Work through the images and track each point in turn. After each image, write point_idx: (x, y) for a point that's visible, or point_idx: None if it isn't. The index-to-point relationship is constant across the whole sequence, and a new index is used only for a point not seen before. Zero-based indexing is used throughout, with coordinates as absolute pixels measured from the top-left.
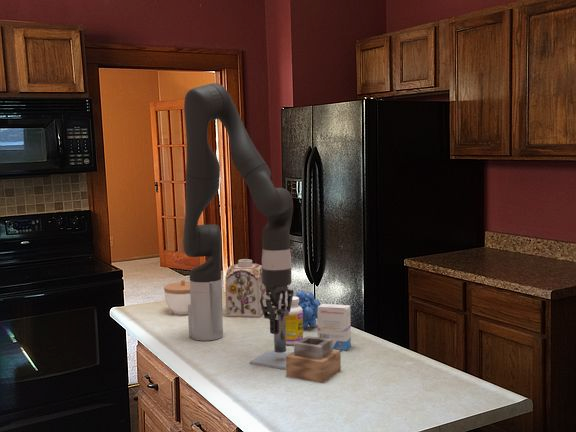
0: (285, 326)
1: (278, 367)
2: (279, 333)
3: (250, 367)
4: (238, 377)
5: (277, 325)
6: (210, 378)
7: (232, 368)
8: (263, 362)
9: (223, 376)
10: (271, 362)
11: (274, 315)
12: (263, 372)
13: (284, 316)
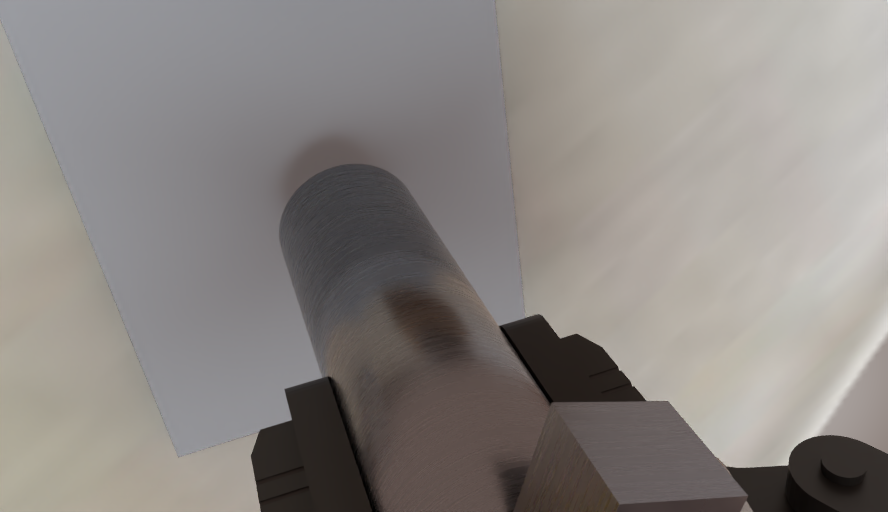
0: (295, 418)
1: (496, 55)
2: (488, 313)
3: (588, 266)
4: (809, 167)
5: (592, 390)
6: (881, 292)
7: (667, 342)
8: (490, 245)
9: (825, 261)
10: (449, 191)
11: (836, 496)
12: (640, 94)
13: (497, 488)
